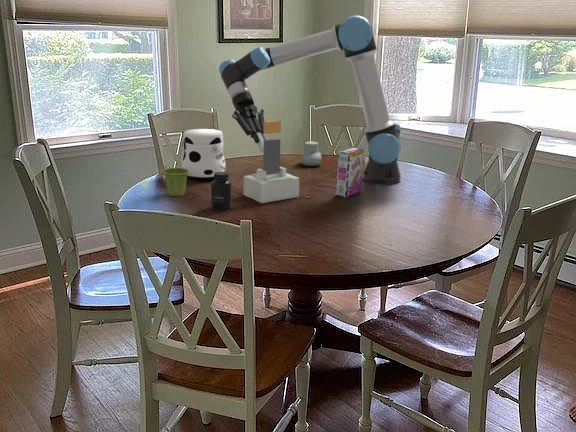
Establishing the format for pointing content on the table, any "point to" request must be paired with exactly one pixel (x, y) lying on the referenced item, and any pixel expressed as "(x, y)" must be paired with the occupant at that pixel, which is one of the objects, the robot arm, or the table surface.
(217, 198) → the supplement bottle
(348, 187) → the candy bar box
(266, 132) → the switch lever
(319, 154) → the air freshener
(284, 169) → the switch box
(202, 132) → the white black spotted container
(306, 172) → the table surface
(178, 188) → the plant pot
